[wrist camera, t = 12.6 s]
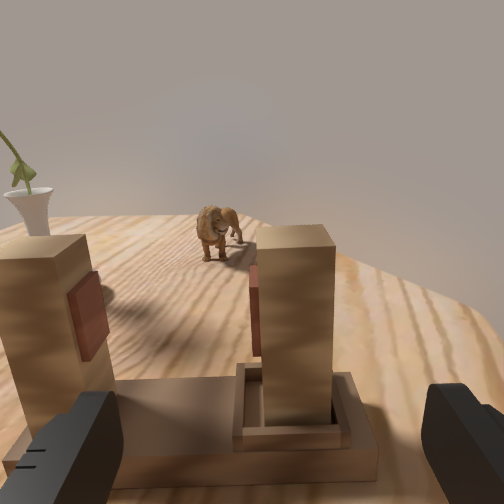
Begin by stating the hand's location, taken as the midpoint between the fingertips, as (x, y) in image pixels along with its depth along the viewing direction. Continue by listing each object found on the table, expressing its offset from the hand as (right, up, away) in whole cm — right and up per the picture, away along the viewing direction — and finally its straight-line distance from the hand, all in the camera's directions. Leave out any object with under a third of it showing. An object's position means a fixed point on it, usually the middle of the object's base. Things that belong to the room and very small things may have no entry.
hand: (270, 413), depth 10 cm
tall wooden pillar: (+2, -6, +16) cm, 17 cm away
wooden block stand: (-4, -9, +17) cm, 19 cm away
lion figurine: (-5, +4, +52) cm, 52 cm away
